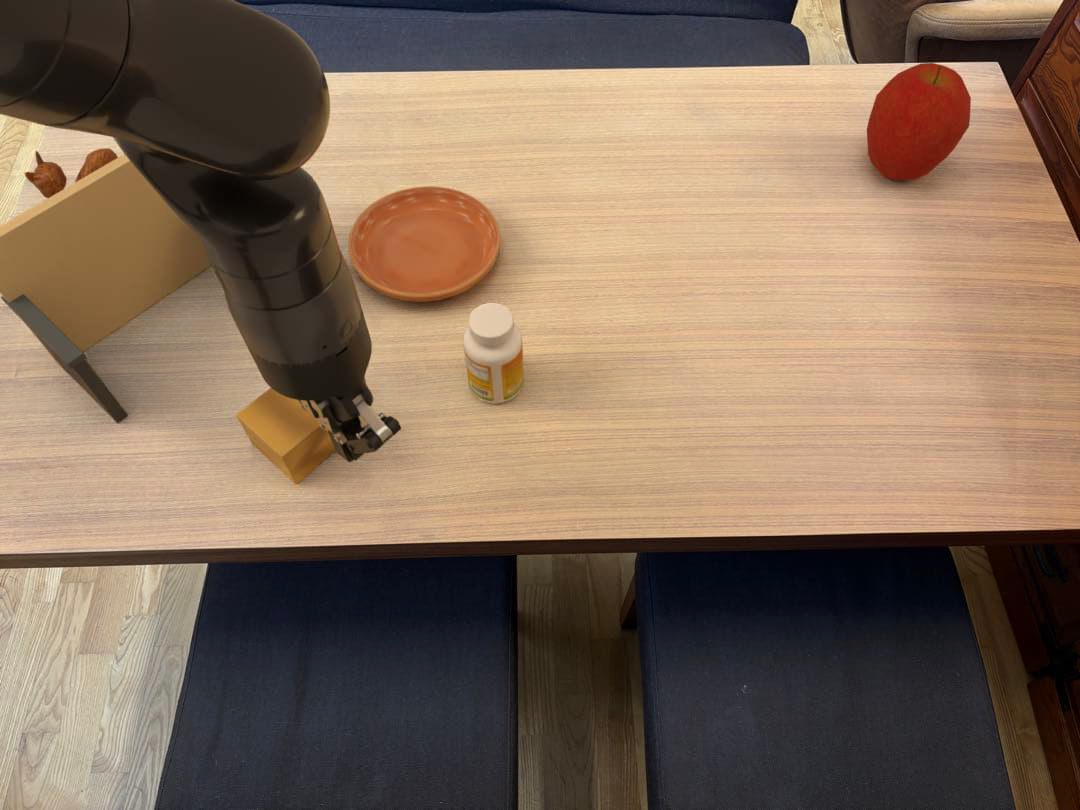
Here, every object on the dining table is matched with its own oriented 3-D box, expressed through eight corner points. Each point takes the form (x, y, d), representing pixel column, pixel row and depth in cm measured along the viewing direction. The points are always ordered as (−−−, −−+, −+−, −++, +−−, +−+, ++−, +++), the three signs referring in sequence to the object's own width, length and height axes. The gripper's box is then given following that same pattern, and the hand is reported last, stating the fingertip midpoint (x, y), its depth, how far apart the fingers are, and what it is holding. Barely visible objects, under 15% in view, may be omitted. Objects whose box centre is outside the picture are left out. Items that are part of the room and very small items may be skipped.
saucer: (520, 222, 95) (519, 202, 92) (471, 329, 86) (468, 310, 84) (388, 192, 97) (384, 172, 95) (328, 293, 89) (322, 274, 87)
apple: (935, 209, 95) (989, 105, 84) (845, 188, 97) (886, 83, 86) (944, 151, 101) (996, 46, 89) (859, 132, 103) (899, 26, 91)
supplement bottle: (520, 357, 84) (518, 293, 76) (526, 402, 82) (524, 340, 73) (466, 362, 84) (458, 299, 76) (470, 408, 81) (462, 346, 73)
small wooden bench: (291, 297, 89) (247, 179, 76) (115, 425, 80) (30, 318, 67) (227, 245, 93) (173, 125, 80) (53, 361, 84) (-40, 248, 71)
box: (296, 484, 77) (281, 457, 73) (251, 443, 79) (235, 414, 75) (350, 438, 79) (339, 409, 75) (305, 400, 82) (293, 370, 78)
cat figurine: (115, 159, 101) (60, 56, 89) (170, 159, 101) (122, 56, 89) (68, 273, 91) (-2, 174, 79) (129, 273, 91) (68, 174, 79)
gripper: (187, 293, 54) (264, 433, 69) (322, 410, 49) (374, 533, 64) (280, 229, 57) (335, 376, 72) (416, 333, 52) (445, 468, 67)
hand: (353, 450), depth 68 cm, fingers closed
